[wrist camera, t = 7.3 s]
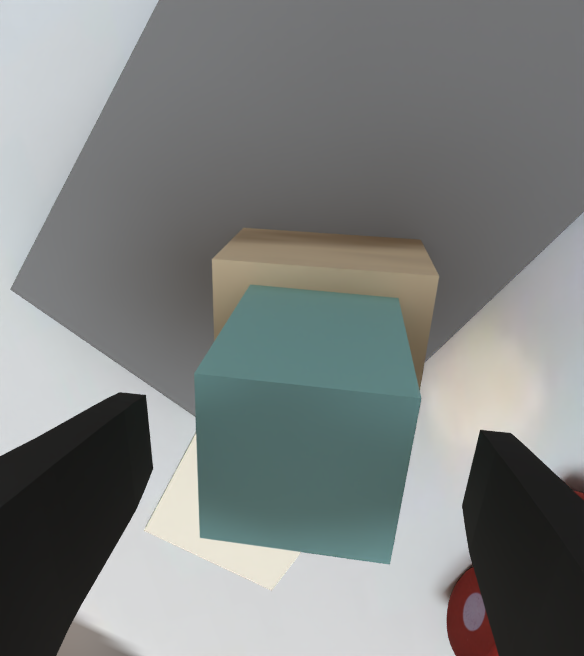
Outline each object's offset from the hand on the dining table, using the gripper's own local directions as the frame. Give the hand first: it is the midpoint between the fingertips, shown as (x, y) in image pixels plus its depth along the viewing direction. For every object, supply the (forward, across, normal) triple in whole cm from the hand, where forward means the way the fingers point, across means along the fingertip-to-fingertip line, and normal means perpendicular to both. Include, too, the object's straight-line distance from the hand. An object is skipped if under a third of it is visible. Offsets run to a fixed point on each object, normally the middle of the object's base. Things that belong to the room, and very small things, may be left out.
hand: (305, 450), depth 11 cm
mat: (+8, +1, -4) cm, 9 cm away
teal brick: (+4, 0, 0) cm, 4 cm away
